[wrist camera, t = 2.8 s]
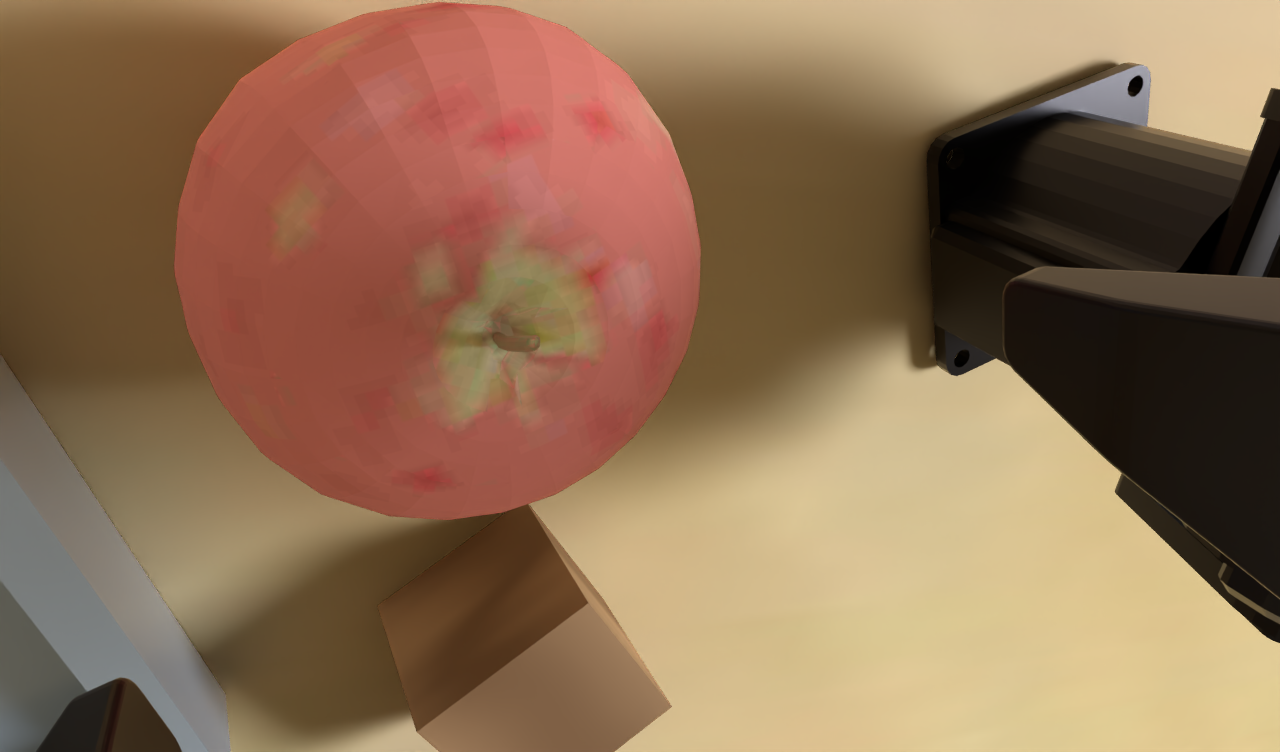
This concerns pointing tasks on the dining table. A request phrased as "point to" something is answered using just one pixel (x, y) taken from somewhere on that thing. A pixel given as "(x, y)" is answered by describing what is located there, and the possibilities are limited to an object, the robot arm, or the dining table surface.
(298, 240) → the apple
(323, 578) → the dining table surface
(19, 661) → the dish
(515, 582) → the walnut block
